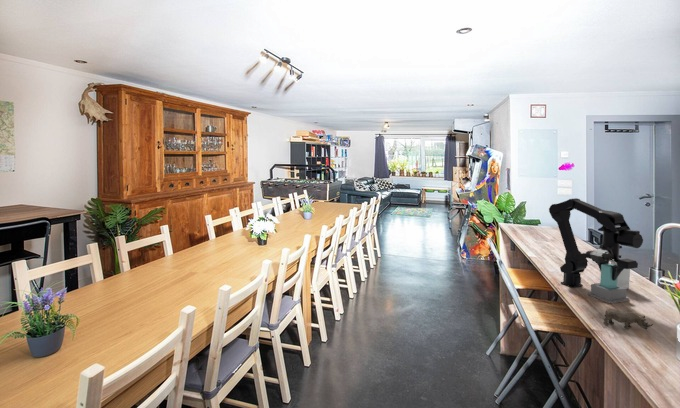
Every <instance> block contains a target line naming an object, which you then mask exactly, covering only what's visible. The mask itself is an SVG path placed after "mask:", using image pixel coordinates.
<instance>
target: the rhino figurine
mask: <svg viewBox="0 0 680 408" xmlns="http://www.w3.org/2000/svg"><path fill="white" fill-rule="evenodd" d="M604 313H605V314H604V318H603V325H605V326H609V324H611V325H613V324H615V323H614V321H616V322H618V323H620V324H624V326H623V328H624V329H625V330H628V331H629V330H630V329H631V328H632V326H631V324H634V323H635V324H637V326H639V327H640V328H642V329H644V330H647V329H648V328H650V327H653V326H654V323H652V324H649V322H647V319H645V318H646V315H643V316H640V315H638V314H636V313H635V312H632V311H627V312H625V311H620V310H618V309H614V308H609V309H606V311H605V312H604Z"/></svg>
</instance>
